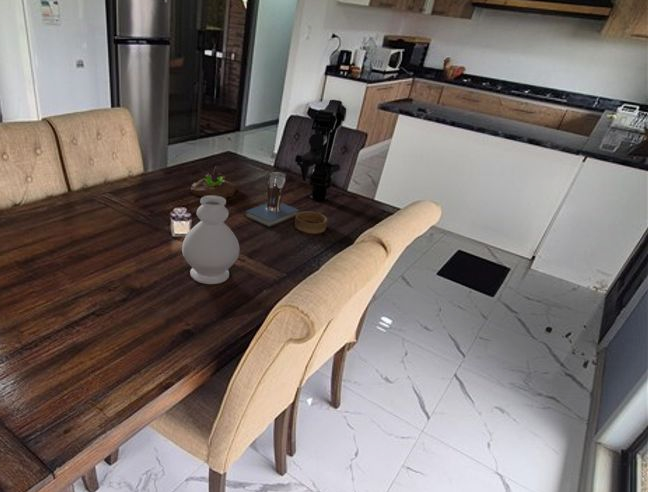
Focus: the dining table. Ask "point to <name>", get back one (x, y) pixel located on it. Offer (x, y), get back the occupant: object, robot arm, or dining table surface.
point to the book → (271, 214)
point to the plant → (214, 186)
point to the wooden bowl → (309, 216)
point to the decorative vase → (211, 243)
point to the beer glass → (275, 191)
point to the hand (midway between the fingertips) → (313, 183)
